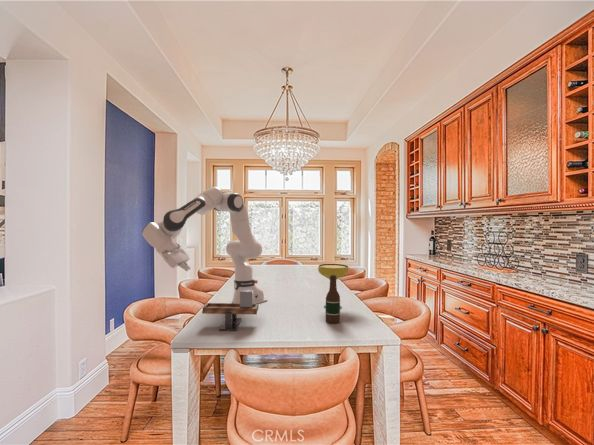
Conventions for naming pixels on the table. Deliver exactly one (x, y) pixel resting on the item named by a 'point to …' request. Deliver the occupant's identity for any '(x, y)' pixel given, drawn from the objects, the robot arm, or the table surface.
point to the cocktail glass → (333, 271)
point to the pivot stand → (230, 322)
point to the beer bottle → (333, 302)
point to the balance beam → (228, 308)
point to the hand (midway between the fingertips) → (188, 269)
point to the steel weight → (246, 298)
